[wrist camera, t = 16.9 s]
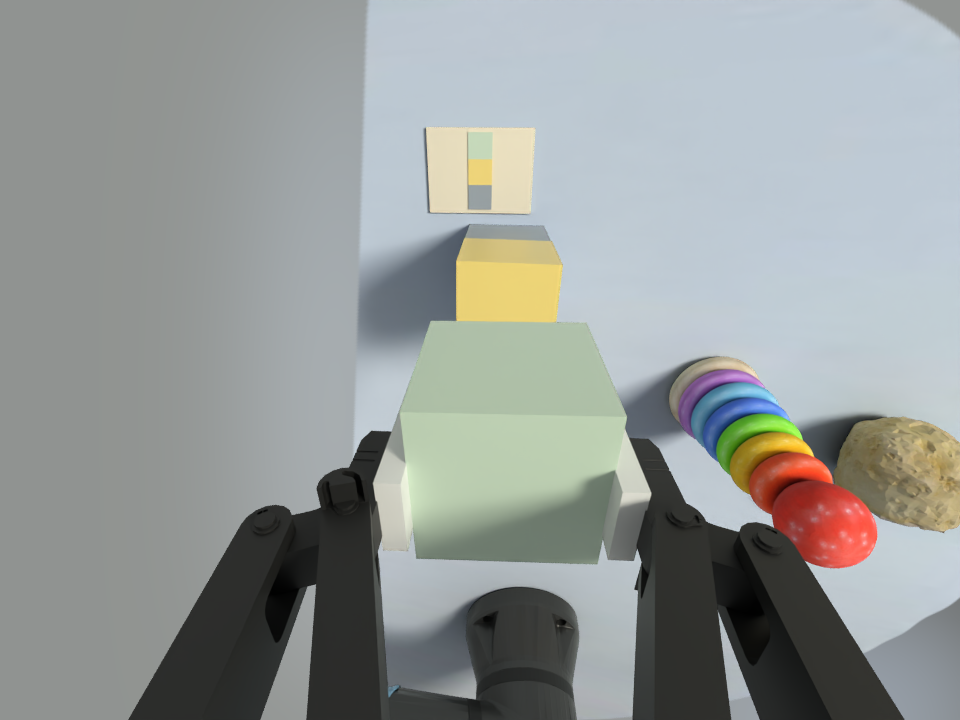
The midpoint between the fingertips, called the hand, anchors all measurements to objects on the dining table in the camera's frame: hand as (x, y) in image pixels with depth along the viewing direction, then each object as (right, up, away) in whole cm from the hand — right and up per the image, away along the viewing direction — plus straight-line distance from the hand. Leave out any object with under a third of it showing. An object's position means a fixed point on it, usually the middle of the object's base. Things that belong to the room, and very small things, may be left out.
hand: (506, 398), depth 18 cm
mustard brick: (+1, +7, +13) cm, 15 cm away
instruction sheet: (-1, +16, +15) cm, 22 cm away
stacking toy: (+21, -1, +24) cm, 31 cm away
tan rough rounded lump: (+38, -6, +25) cm, 46 cm away
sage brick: (0, 0, 0) cm, 0 cm away
